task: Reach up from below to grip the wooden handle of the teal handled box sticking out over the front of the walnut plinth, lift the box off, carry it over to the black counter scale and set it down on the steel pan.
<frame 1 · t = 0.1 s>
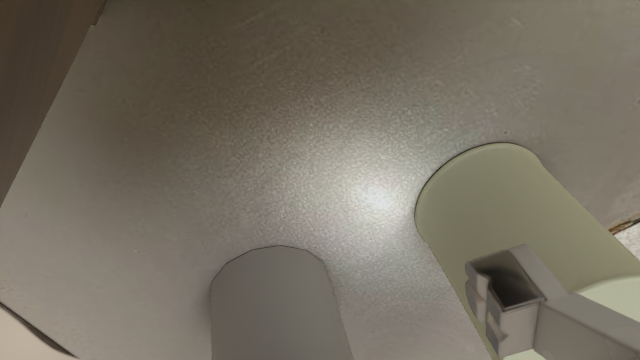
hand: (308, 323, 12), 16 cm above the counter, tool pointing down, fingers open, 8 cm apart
can: (477, 198, 33), on the counter
cup: (270, 287, 34), on the counter
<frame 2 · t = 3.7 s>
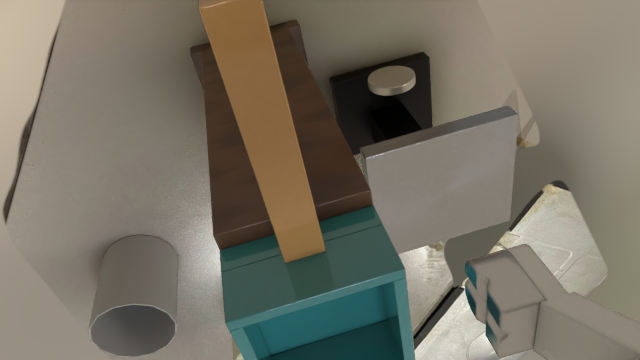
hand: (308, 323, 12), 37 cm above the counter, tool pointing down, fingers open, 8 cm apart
cup: (141, 260, 57), on the counter
teal handled box: (312, 278, 27), point 26 cm above the counter, touching plinth
plinth: (255, 73, 46), on the counter
scale: (381, 103, 51), on the counter
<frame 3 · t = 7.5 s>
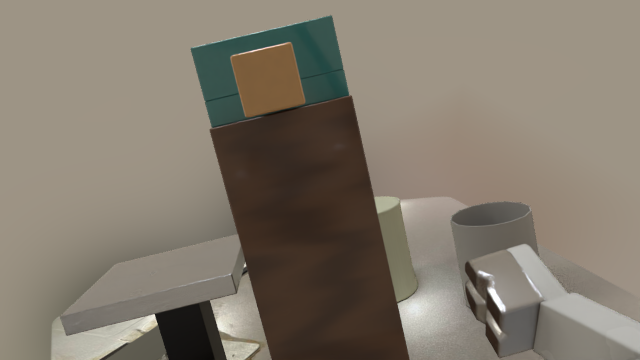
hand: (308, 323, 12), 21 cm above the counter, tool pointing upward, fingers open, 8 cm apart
can: (383, 291, 63), on the counter
cup: (504, 300, 54), on the counter
teal handled box: (281, 110, 31), point 26 cm above the counter, touching plinth
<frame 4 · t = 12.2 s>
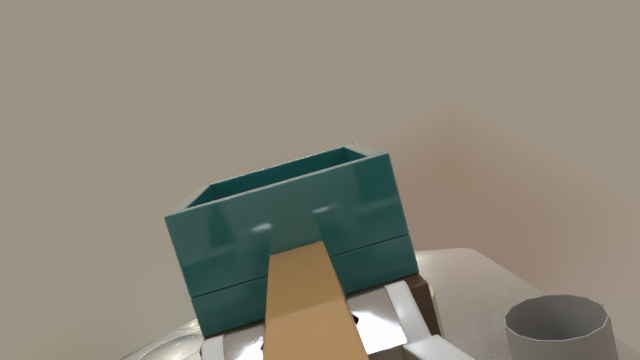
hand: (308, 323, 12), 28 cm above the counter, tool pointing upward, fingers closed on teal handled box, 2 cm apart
teal handled box: (306, 270, 21), point 26 cm above the counter, touching gripper, plinth
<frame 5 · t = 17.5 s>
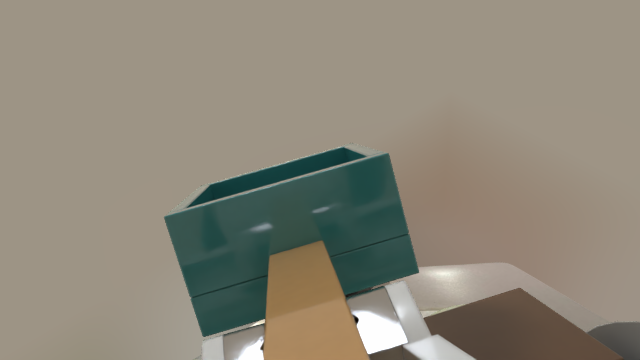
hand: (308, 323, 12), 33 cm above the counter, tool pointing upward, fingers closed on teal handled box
teal handled box: (305, 270, 21), point 32 cm above the counter, touching gripper
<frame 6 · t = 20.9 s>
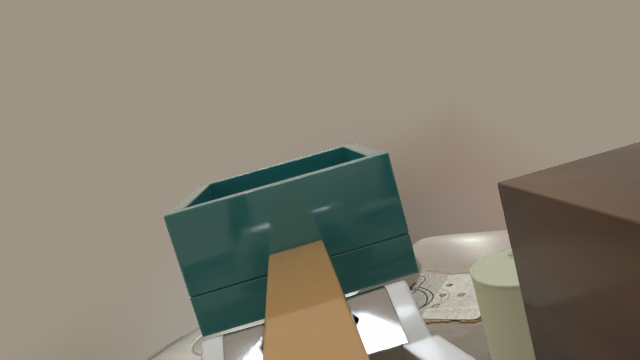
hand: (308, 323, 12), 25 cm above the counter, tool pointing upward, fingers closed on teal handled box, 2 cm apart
teal handled box: (305, 270, 21), point 24 cm above the counter, touching gripper
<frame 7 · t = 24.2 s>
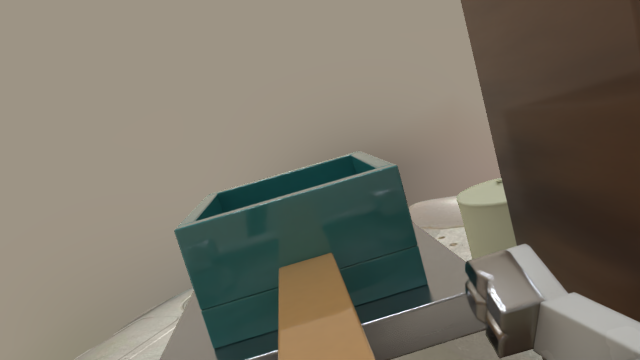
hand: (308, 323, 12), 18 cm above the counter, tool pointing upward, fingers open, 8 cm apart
can: (532, 304, 46), on the counter
teal handled box: (314, 280, 21), point 16 cm above the counter, touching scale
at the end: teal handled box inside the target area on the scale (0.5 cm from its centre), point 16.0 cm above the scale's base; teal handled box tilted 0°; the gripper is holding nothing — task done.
